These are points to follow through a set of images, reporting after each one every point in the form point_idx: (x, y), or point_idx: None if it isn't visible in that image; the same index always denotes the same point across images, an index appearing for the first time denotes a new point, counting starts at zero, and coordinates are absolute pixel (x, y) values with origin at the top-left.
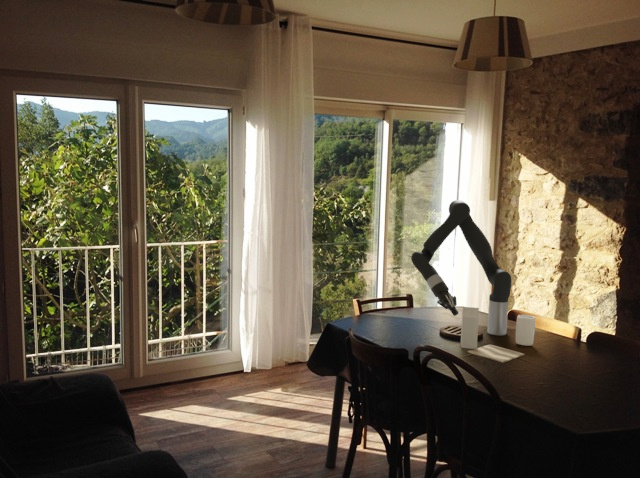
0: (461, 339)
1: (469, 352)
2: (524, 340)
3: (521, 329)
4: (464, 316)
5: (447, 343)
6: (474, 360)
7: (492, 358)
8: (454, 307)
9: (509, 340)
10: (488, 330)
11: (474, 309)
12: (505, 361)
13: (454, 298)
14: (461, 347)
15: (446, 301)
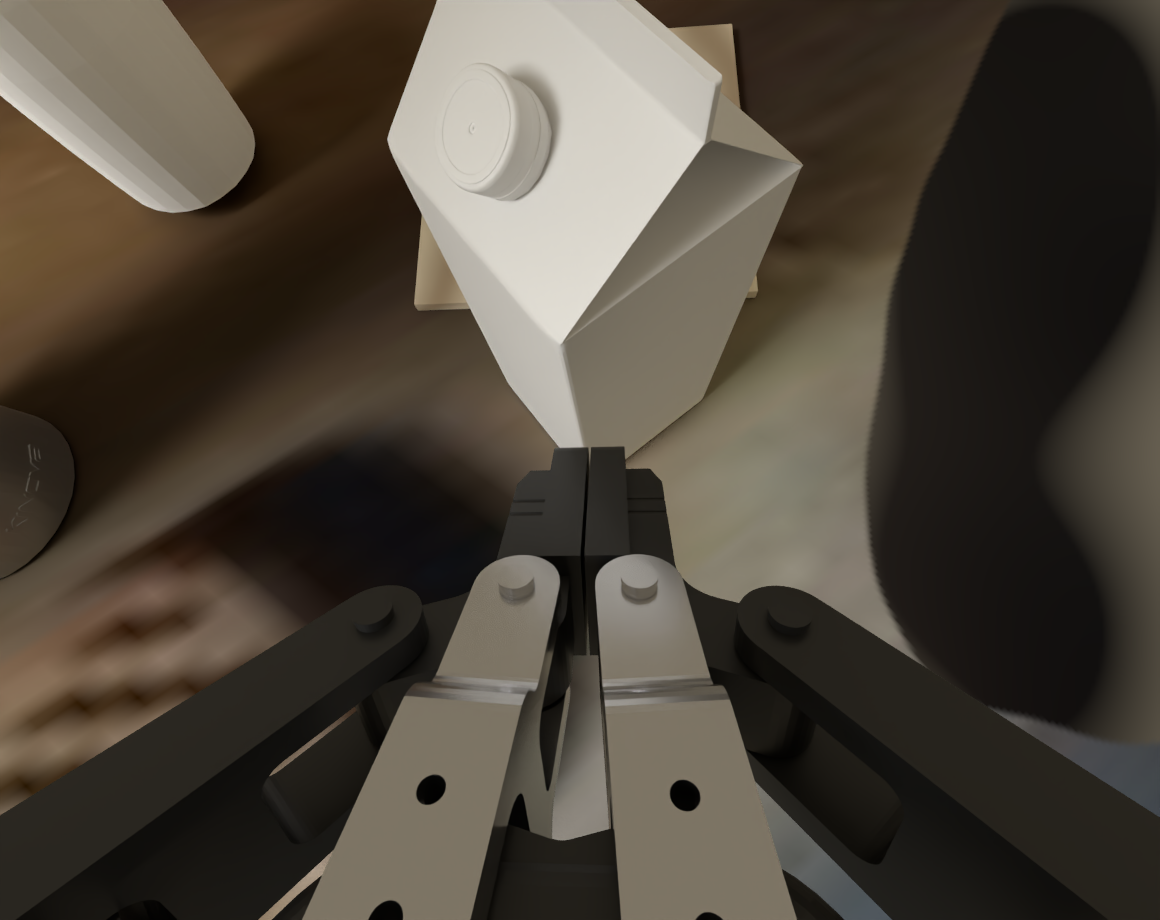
0: (692, 387)
1: (754, 278)
2: (225, 88)
3: (150, 11)
4: (775, 145)
5: (692, 575)
6: (874, 156)
7: (737, 92)
8: (560, 543)
9: (147, 304)
10: (18, 537)
11: None
12: (695, 32)
13: (24, 895)
14: (701, 397)
15: (787, 876)
